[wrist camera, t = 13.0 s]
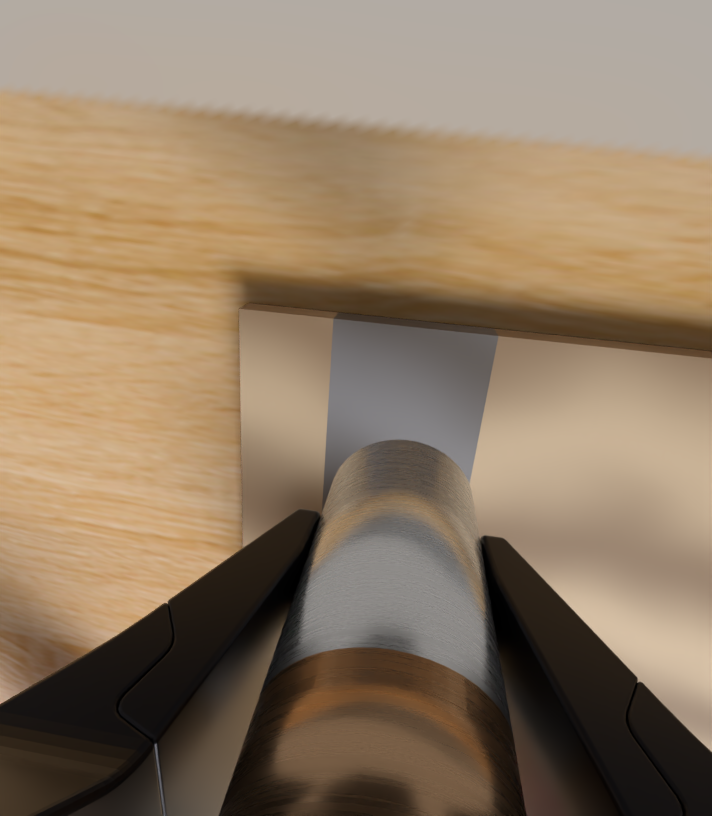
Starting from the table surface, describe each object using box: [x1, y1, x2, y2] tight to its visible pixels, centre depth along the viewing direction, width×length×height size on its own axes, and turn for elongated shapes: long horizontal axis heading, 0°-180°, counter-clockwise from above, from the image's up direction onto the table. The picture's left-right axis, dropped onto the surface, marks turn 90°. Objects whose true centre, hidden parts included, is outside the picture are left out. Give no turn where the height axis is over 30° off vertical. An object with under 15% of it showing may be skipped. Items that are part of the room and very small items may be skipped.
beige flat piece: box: [239, 303, 712, 752], centre depth 18 cm, size 16×22×1 cm
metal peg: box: [219, 440, 527, 816], centre depth 7 cm, size 3×3×6 cm
